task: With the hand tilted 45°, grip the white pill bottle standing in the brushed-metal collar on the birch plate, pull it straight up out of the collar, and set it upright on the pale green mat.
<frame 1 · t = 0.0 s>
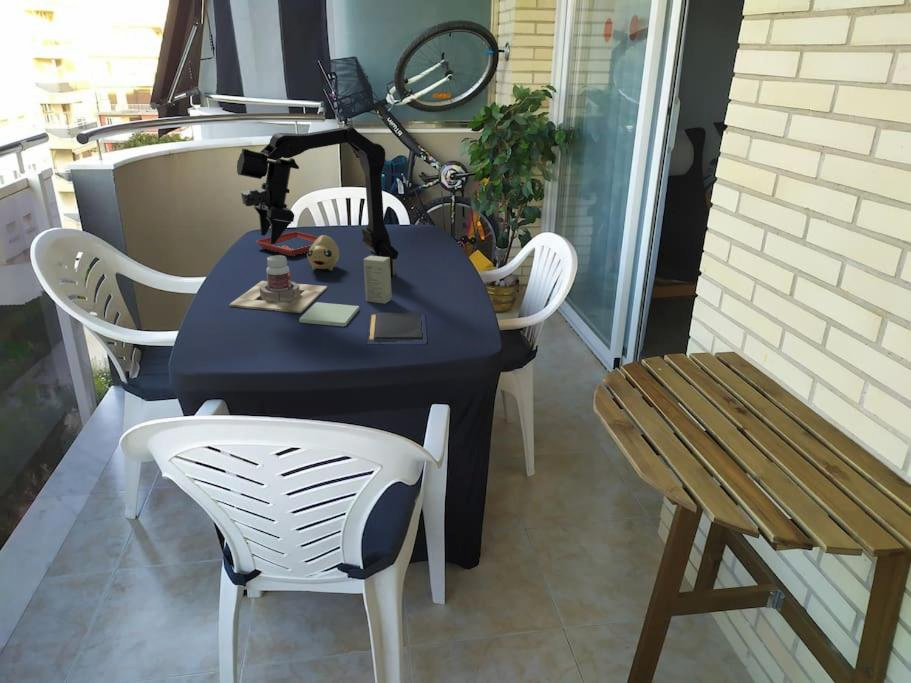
hand: (267, 239, 176), 15 cm above the table, tool pointing down, fingers open, 9 cm apart
dark book: (397, 331, 162), on the table
red square frame: (293, 250, 223), on the table
collar plate: (280, 296, 180), on the table
beige toy figure: (323, 270, 203), on the table
green mat: (330, 315, 168), on the table
skincare box: (378, 301, 180), on the table
pill bottle: (280, 297, 180), resting in collar plate
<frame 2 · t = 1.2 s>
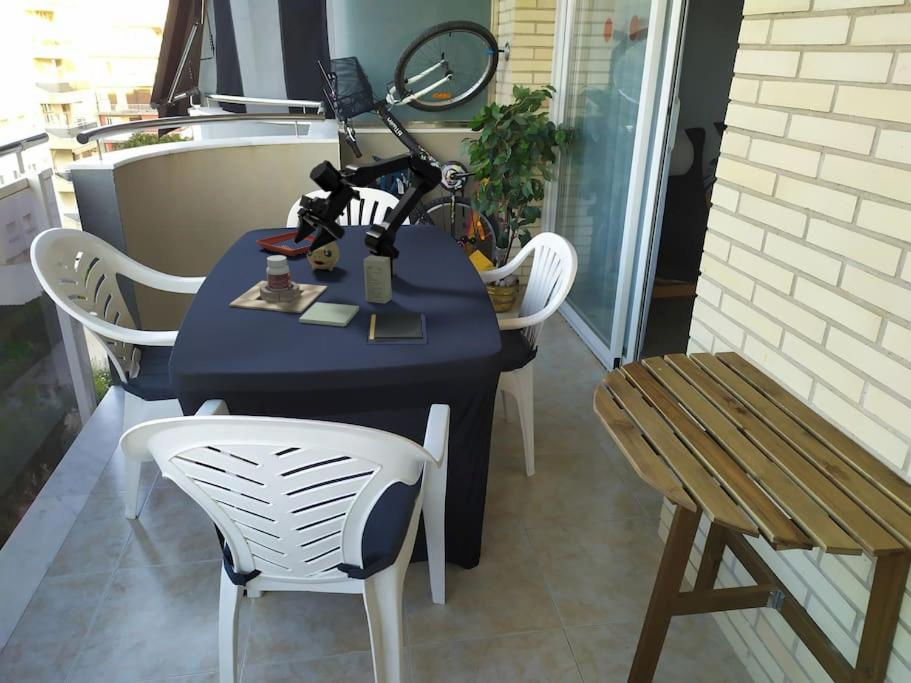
hand: (302, 246, 179), 13 cm above the table, tool tilted 45°, fingers open, 9 cm apart
nothing on the table moved.
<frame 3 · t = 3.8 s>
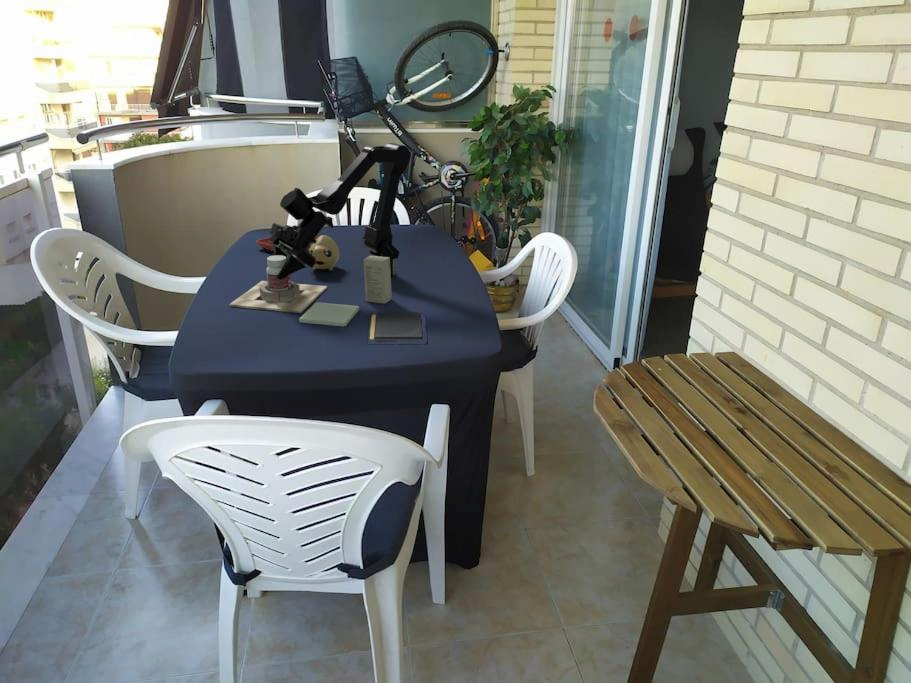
hand: (273, 275, 176), 7 cm above the table, tool tilted 45°, fingers closed on pill bottle, 6 cm apart
pill bottle: (280, 297, 180), resting in collar plate, touching gripper
everything else where it was.
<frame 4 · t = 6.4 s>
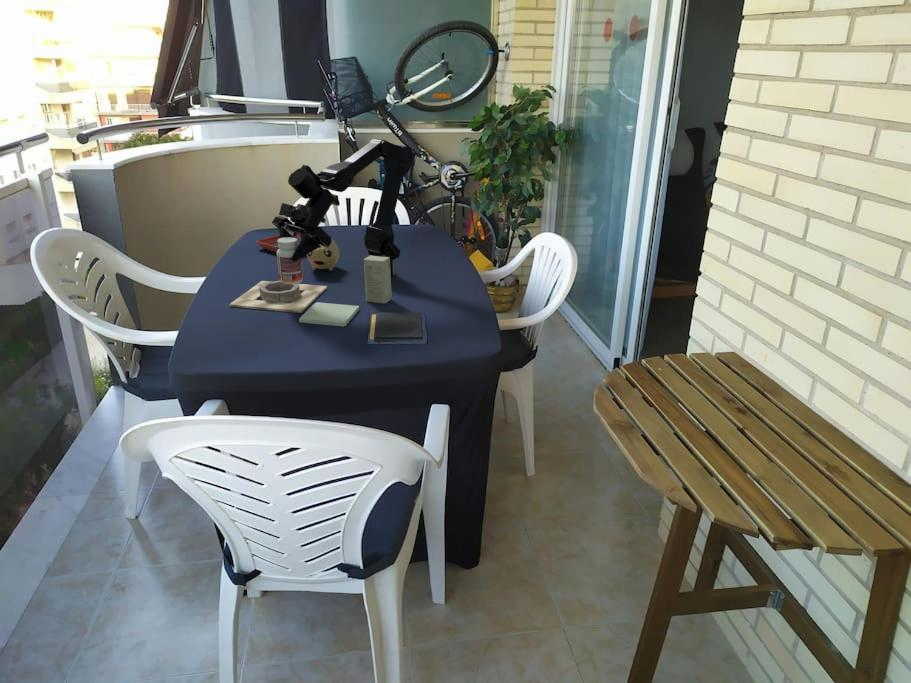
hand: (284, 258, 168), 13 cm above the table, tool tilted 45°, fingers closed on pill bottle, 6 cm apart
pill bottle: (291, 281, 172), point 6 cm above the table, touching gripper
everything else where it was.
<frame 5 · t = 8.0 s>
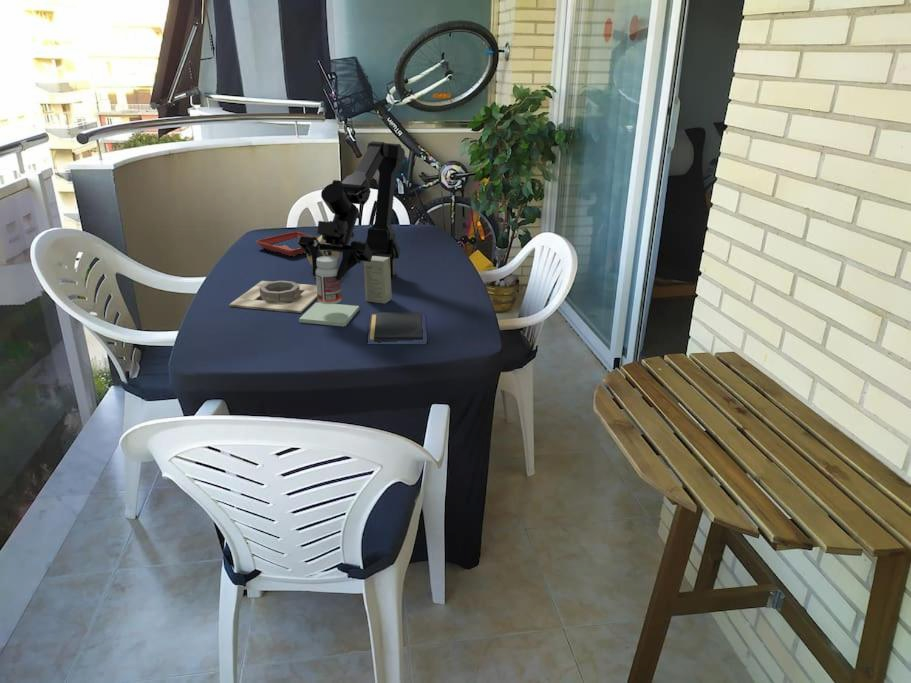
hand: (325, 277, 163), 11 cm above the table, tool tilted 45°, fingers closed on pill bottle, 6 cm apart
pill bottle: (329, 301, 167), point 4 cm above the table, touching gripper
everything else where it was.
when the fingers open (9 cm above the table, at t = 9.3 s): pill bottle drops 1 cm, resting on green mat.
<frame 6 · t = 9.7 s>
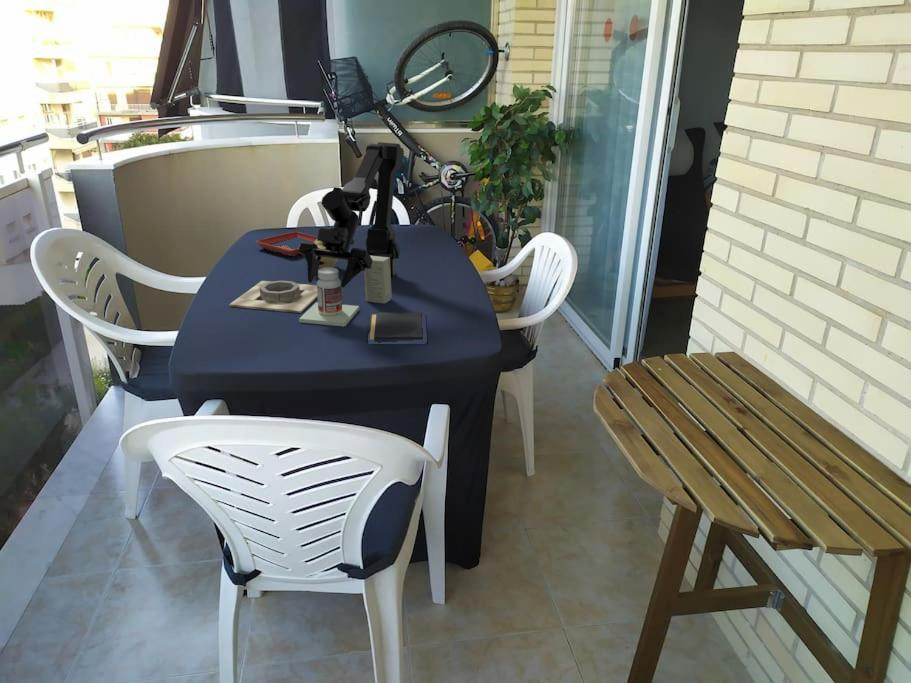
hand: (325, 284, 163), 9 cm above the table, tool tilted 45°, fingers open, 9 cm apart
pill bottle: (330, 312, 168), point 1 cm above the table, touching green mat
everything else where it was.
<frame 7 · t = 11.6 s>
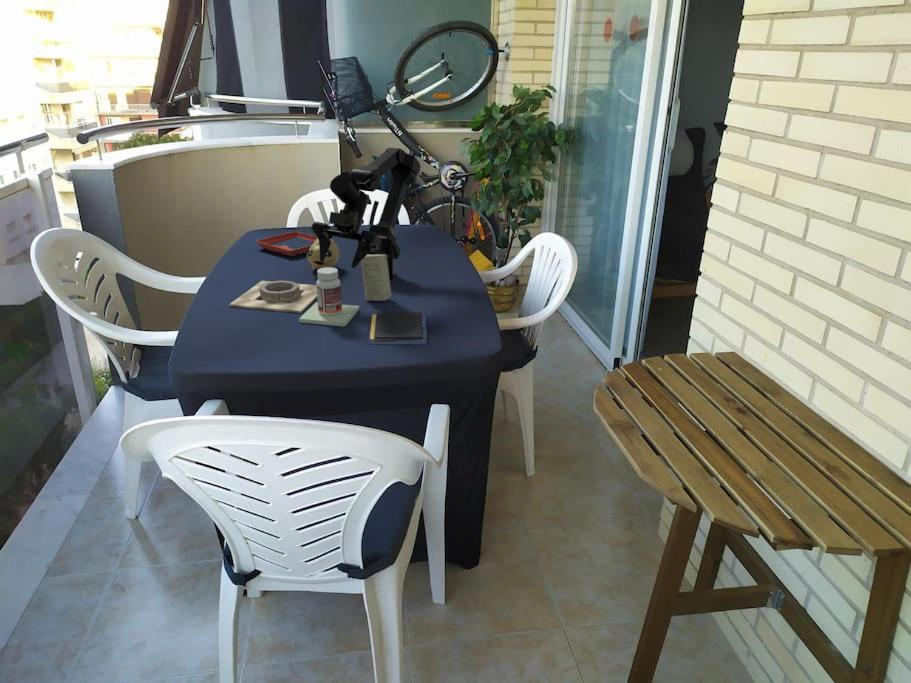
hand: (336, 264, 173), 11 cm above the table, tool tilted 40°, fingers open, 9 cm apart
skincare box: (378, 299, 179), on the table, touching gripper
everything else where it was.
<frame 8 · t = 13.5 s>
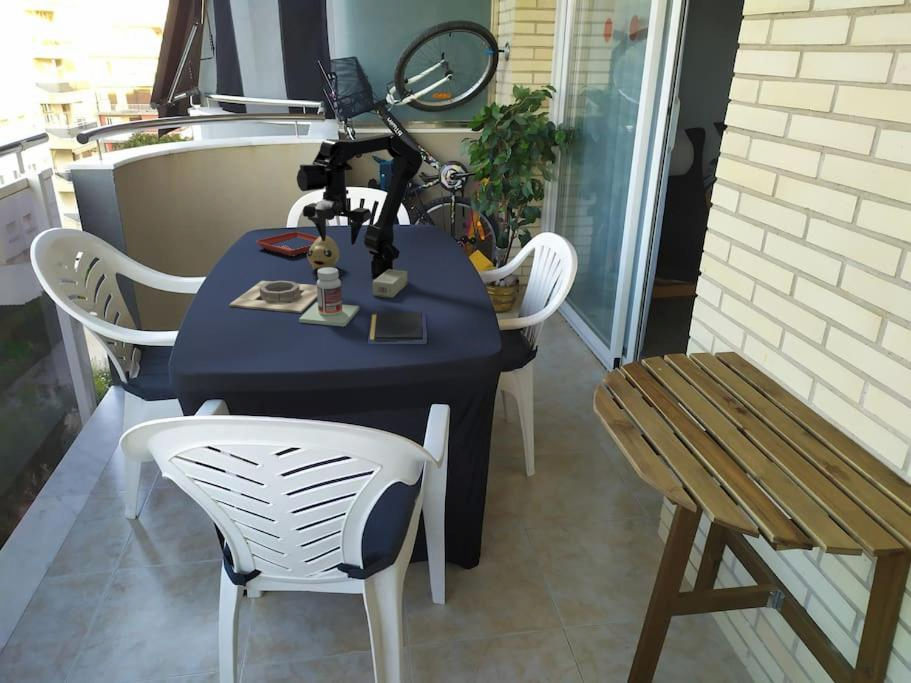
hand: (338, 242, 184), 13 cm above the table, tool pointing down, fingers open, 9 cm apart
skincare box: (381, 289, 181), point 2 cm above the table
everything else where it was.
at the end: pill bottle inside the target area (0.2 cm from its centre), point 0.8 cm above the table; pill bottle tilted 0°; the gripper is holding nothing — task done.
